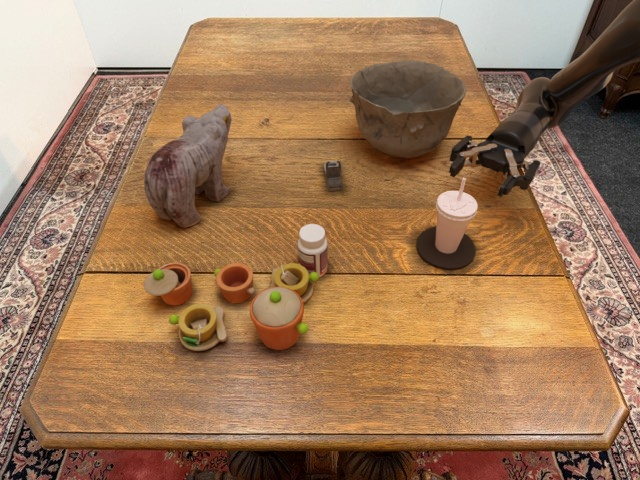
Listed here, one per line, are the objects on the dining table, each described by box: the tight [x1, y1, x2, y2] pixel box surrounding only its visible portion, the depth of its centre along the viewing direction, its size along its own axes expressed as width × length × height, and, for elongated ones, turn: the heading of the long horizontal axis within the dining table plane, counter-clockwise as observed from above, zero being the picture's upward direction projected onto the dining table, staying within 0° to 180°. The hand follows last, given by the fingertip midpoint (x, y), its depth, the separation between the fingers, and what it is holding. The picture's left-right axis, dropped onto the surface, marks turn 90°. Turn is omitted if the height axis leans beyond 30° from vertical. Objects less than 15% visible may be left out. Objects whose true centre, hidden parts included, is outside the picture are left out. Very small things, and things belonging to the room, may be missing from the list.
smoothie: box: [435, 177, 479, 253], centre depth 76 cm, size 6×6×14 cm
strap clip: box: [323, 160, 344, 192], centre depth 94 cm, size 8×3×4 cm, turn 7°
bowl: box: [349, 59, 467, 159], centre depth 98 cm, size 22×22×15 cm
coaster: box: [415, 226, 477, 271], centre depth 81 cm, size 10×10×1 cm
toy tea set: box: [143, 262, 320, 352], centre depth 69 cm, size 26×16×10 cm, turn 91°
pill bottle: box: [297, 223, 329, 278], centre depth 75 cm, size 5×5×8 cm
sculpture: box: [143, 103, 232, 229], centre depth 86 cm, size 12×21×15 cm, turn 175°
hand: (476, 182), depth 78 cm, fingers open, 8 cm apart
